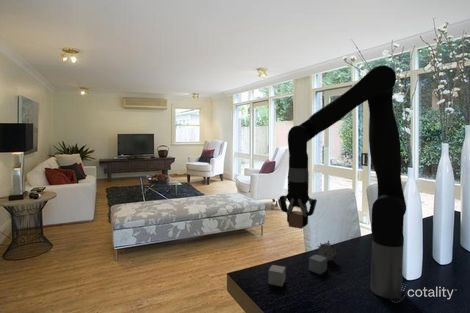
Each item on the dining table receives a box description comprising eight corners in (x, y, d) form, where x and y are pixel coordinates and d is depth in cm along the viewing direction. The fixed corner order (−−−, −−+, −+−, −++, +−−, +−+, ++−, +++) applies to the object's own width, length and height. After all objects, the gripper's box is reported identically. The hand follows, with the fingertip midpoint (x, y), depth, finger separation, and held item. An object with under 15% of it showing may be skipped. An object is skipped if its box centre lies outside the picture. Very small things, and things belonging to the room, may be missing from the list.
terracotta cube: (305, 225, 111) (306, 212, 110) (301, 228, 106) (301, 215, 106) (293, 223, 113) (293, 210, 113) (288, 226, 109) (288, 213, 108)
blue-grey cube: (326, 270, 115) (327, 258, 114) (320, 274, 111) (320, 261, 111) (315, 266, 118) (315, 254, 118) (308, 270, 115) (309, 257, 115)
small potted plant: (322, 270, 122) (308, 252, 121) (326, 256, 129) (313, 239, 128) (341, 266, 117) (327, 246, 116) (344, 251, 124) (331, 233, 123)
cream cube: (285, 280, 107) (285, 267, 106) (282, 286, 102) (282, 272, 102) (272, 277, 109) (272, 264, 108) (268, 284, 104) (268, 270, 104)
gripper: (320, 180, 108) (319, 225, 109) (283, 177, 115) (283, 219, 117) (314, 182, 101) (313, 230, 103) (276, 179, 109) (275, 224, 110)
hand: (297, 224), depth 110 cm, fingers closed on terracotta cube, 5 cm apart
